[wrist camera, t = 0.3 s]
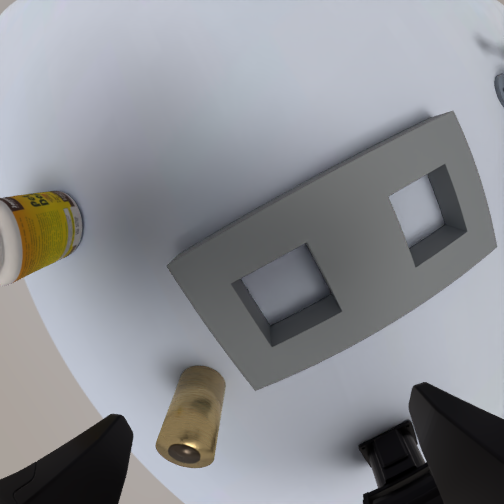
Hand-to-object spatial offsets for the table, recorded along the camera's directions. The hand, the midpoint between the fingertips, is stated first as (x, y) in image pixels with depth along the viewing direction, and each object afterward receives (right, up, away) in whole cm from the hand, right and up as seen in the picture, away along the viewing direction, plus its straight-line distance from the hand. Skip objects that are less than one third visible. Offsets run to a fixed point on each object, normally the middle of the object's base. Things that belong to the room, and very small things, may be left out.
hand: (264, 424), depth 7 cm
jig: (+7, +5, +13) cm, 15 cm away
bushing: (-5, -6, +16) cm, 18 cm away
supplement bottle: (-16, +7, +13) cm, 22 cm away
